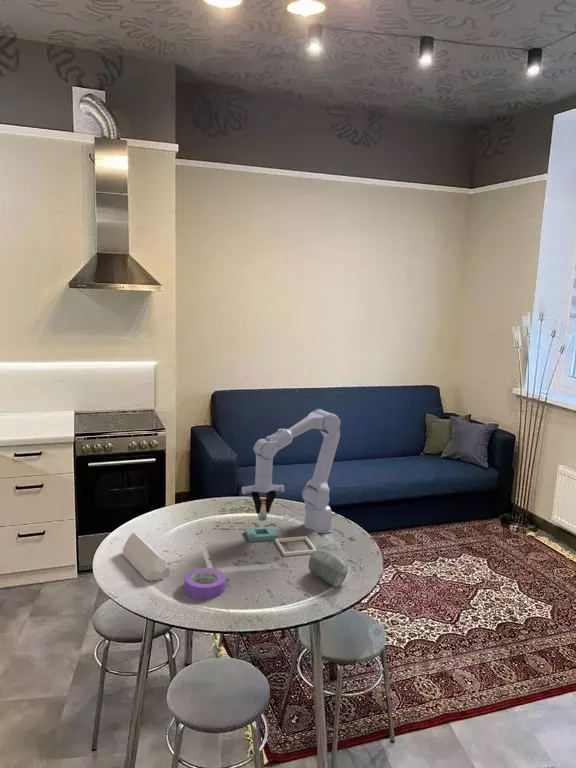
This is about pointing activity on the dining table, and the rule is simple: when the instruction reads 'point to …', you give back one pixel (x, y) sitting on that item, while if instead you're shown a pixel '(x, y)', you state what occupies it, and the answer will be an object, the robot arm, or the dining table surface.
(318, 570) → the grey green streaked cylinder
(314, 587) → the dining table surface
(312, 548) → the tray
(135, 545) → the crystal
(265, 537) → the teal socket block
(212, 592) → the masking tape
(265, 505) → the copper-capped cylinder
